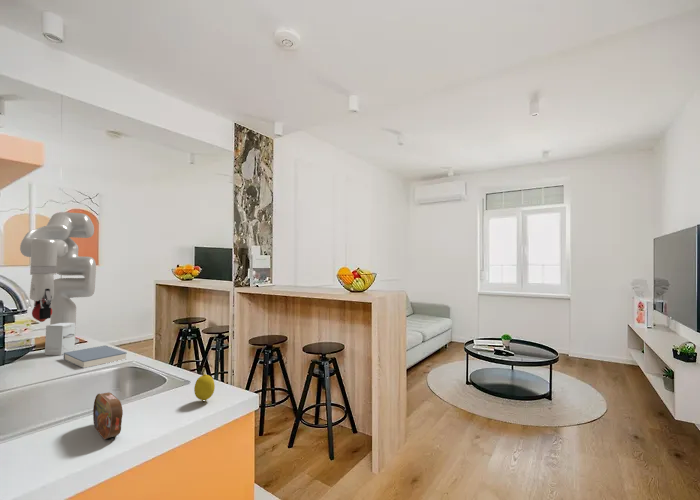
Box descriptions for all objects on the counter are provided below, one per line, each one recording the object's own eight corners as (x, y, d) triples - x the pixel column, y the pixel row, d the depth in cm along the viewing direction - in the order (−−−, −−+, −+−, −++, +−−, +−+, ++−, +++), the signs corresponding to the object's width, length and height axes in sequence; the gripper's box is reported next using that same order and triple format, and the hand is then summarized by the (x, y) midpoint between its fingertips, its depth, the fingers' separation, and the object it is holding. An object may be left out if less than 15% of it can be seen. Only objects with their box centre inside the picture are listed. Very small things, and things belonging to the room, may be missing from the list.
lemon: (218, 399, 104) (219, 372, 104) (205, 406, 99) (205, 378, 99) (203, 396, 106) (204, 370, 106) (189, 403, 100) (190, 375, 101)
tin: (91, 423, 88) (92, 390, 88) (106, 419, 90) (107, 386, 90) (107, 445, 78) (109, 407, 78) (124, 440, 80) (125, 403, 80)
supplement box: (61, 355, 147) (62, 325, 148) (44, 355, 147) (45, 325, 148) (75, 350, 155) (76, 322, 155) (59, 350, 155) (60, 322, 155)
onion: (37, 323, 129) (38, 302, 129) (27, 322, 131) (28, 301, 131) (55, 321, 135) (56, 300, 135) (45, 320, 136) (46, 299, 137)
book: (63, 360, 142) (63, 352, 142) (105, 352, 154) (105, 345, 154) (83, 369, 131) (83, 361, 131) (126, 359, 143) (126, 352, 143)
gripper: (23, 270, 135) (22, 316, 134) (38, 272, 125) (36, 321, 125) (48, 269, 141) (46, 313, 141) (64, 271, 131) (62, 318, 131)
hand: (41, 317), depth 133 cm, fingers closed on onion, 5 cm apart
